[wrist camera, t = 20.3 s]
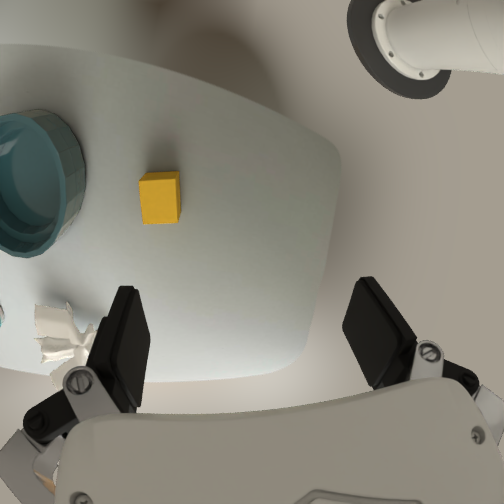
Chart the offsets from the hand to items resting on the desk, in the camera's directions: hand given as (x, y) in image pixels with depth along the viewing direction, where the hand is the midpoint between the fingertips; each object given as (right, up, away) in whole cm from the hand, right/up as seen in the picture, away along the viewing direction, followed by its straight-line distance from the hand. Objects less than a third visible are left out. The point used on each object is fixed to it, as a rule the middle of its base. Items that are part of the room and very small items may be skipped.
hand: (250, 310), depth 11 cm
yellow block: (-10, +9, +20) cm, 24 cm away
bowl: (-28, +12, +15) cm, 34 cm away
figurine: (-29, -10, +28) cm, 42 cm away
